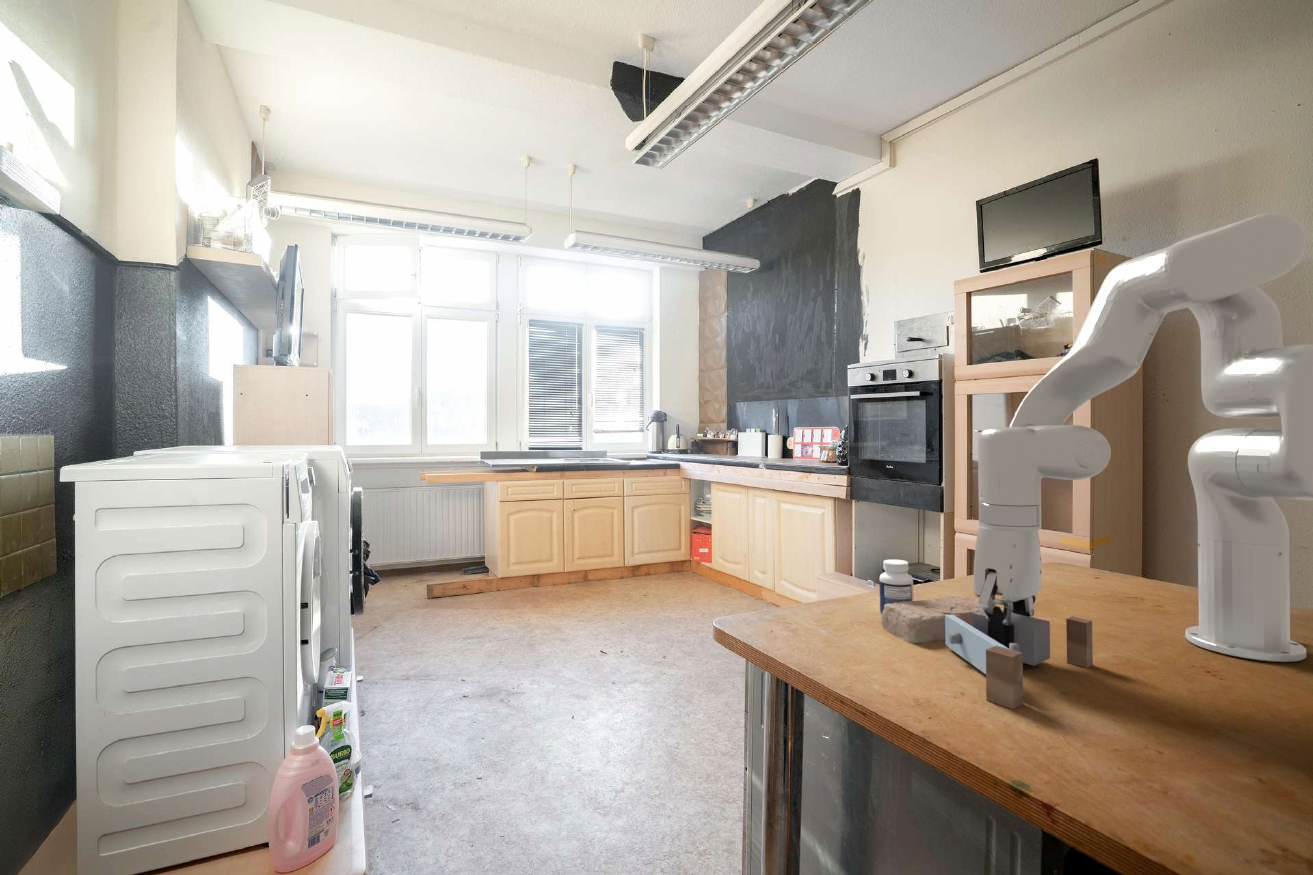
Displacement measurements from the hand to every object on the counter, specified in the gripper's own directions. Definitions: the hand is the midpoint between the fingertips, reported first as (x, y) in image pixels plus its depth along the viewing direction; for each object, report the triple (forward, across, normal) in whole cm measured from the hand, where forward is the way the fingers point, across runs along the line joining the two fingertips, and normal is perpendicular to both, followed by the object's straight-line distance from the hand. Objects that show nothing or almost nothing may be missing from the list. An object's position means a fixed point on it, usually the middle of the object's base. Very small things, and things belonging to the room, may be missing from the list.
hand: (1010, 646), depth 85 cm
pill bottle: (+2, -4, -21) cm, 22 cm away
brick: (+3, -4, -13) cm, 14 cm away
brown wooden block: (+2, +14, +6) cm, 15 cm away
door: (+2, +8, -1) cm, 8 cm away
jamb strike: (+2, -6, +6) cm, 9 cm away
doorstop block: (+1, 0, 0) cm, 1 cm away
